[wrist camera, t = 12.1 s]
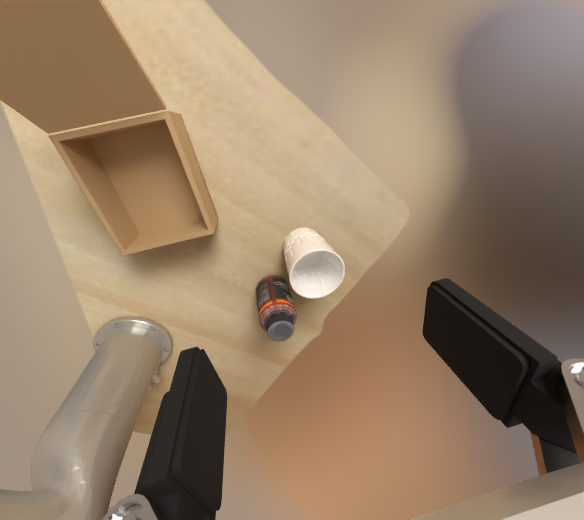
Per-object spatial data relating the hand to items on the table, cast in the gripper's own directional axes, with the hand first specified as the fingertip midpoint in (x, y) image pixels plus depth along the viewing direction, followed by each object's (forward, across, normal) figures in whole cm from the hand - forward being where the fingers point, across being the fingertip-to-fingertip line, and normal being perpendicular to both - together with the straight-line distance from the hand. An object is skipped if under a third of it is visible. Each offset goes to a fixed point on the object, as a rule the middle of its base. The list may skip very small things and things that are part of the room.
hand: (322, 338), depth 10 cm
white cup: (+31, -4, +11) cm, 33 cm away
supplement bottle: (+31, +3, +18) cm, 36 cm away
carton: (+30, +14, -4) cm, 34 cm away
